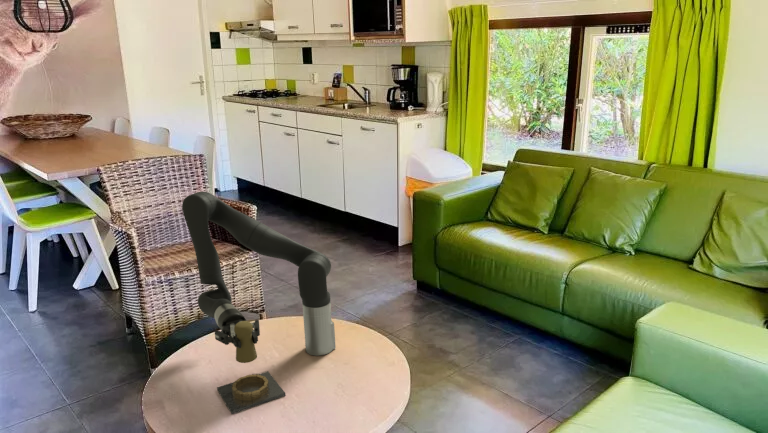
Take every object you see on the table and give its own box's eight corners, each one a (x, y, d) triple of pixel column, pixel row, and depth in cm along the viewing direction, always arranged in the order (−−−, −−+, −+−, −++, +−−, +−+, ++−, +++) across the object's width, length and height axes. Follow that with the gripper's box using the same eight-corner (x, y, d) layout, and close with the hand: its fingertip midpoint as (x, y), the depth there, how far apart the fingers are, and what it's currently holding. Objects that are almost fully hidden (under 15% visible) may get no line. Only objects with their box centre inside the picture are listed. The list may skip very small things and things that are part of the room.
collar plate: (268, 374, 180) (267, 365, 179) (285, 395, 169) (284, 386, 168) (217, 390, 172) (216, 381, 171) (231, 414, 161) (230, 405, 160)
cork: (251, 363, 164) (248, 329, 161) (232, 361, 165) (228, 327, 162) (260, 353, 169) (257, 319, 166) (241, 351, 171) (237, 317, 167)
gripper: (205, 314, 173) (221, 337, 159) (251, 302, 180) (270, 324, 166) (207, 336, 175) (224, 362, 161) (253, 324, 182) (272, 347, 168)
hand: (247, 342), depth 163 cm, fingers closed on cork, 4 cm apart
